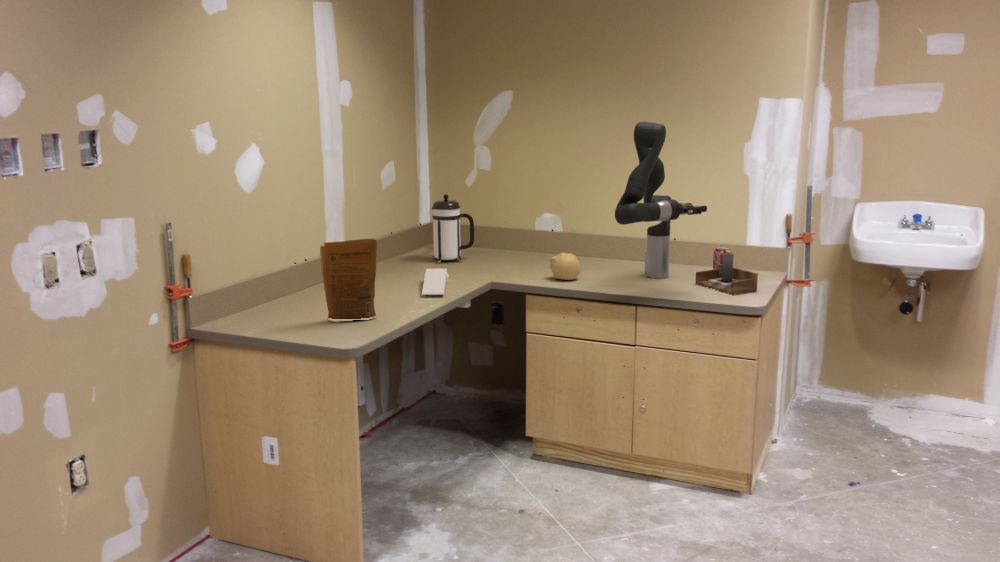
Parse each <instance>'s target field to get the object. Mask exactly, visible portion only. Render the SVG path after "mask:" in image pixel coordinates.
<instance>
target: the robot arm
mask: <svg viewBox="0 0 1000 562" xmlns="http://www.w3.org/2000/svg"><path fill="white" fill-rule="evenodd" d="M666 136H667V128H666V125H664V124H661V123H659V122H658V123H657V122H649V121H639V122H637V123H636V124H635V127H634V129H633V142H634V146H635V150H636V153H637V157H638V165H637V166H636V167H635V168H634V169H633V170H632V171H631V173H630V174H629V176H628V179H627V183H626V186H625V188H624V189H625V190H624V192H623V194H622V196H621V197H620V199H619V201H618V203H617V205H616V208H615V209H614V219H615V221H616V222H617V224H619V225H624V226H625V225H628V224H630V225H631V224H636V223H642V222H646V223H647V222H648V223H649V222H650V223H651V222H659V223H657V224H654V225H651V226H649V227H648V228H647V229H646V251H645V253H644V275H645V277H647V278H652V279H665V278H669V271H670V269H669V268H670V250H671V249H670V243H671V221H675V220H678V218H679V217H680V216H685V215H688V216H691V215H692V216H693V215H702V213H706V212H707V211H708V206H707V205H693V204H692V203H691V202H687V203H682V202H678V201H677V200H676V199H672V197H671V196H669V195H658V194H657V195H655V192H656V191H657V190H659V189H660V188H661V186H662V185H663V184H664V182H665V180H666V176H665V175H666V174H665V166H664V163H663V161H662V159H661V158H660V154H661V152H662V149H663V146H664V144H665V142H666ZM642 200H643V202H640V201H642Z"/></svg>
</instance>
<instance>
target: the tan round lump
mask: <svg viewBox="0 0 1000 562" xmlns="http://www.w3.org/2000/svg"><path fill="white" fill-rule="evenodd" d="M549 268H550V269H551V273H552V275H553V276H554V278H555V279H557V280H563V281H564V280H567V281H573V280H576V279H577V278H578V277H579V276H580V273H581V264H580V261H579V259H578V258H577V255H575V254H574V253H572V252H571V253H569V252H568V253H567V252H560V253H559V254H557V255H555V256H552V257H550V259H549Z"/></svg>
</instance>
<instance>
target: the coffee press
mask: <svg viewBox="0 0 1000 562" xmlns="http://www.w3.org/2000/svg"><path fill="white" fill-rule="evenodd" d="M460 211H461V205H460V202H459V201H457V200H454V199H449V195H448V194H447V193H445V194H444V195H443V199H438V200H435V201H434V202H433V203H432V205H431V208H430V210H429V212H428V214H431V216H432V217H431V219H432V227H433V228H432V230H433V231H432V232H433V235H432V236H433V256H432V258H433V257H434V258H437V259H436V260H437V261H440V260H443V261H449V260H456V259H459V261H460V260H461V259H462V257H461V250H466V249H470V248H471V247H472V246H473V245H474V243H475V223H474V218H473V216H471V215H470V214H468V213H461V212H460ZM461 218H466V219H468V222H469V242H468V243H467V244H464V245H462V244H461ZM437 261H436V262H437Z"/></svg>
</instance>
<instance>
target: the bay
mask: <svg viewBox="0 0 1000 562" xmlns="http://www.w3.org/2000/svg"><path fill="white" fill-rule="evenodd" d="M758 275H759V272H754V271H750V270H747V269H742V268H739V267H738V268H737V267H735V266H733V275H732V282H731V283H724V282H721V281H722V264H717V269H713V268H712V269H708V270H699V271H696V272H695V285H696V284H698V285H697V286H700V285H701V286H700V287H703V286H704V288H706V287H708V289H710V288H712V289H711V290H713V289H715V290H714V291H717V290H719V291H718V292H720V291H722V292H721V293H724V292H725V294H727V293H729V294H728V295H731V294H732V296H735V295H734V294H737V295H742V294H741V293H743V294H748V293H749V292H750V293H755V292H758V280H759V279H758V278H759V276H758ZM750 293H749V294H750Z"/></svg>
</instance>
